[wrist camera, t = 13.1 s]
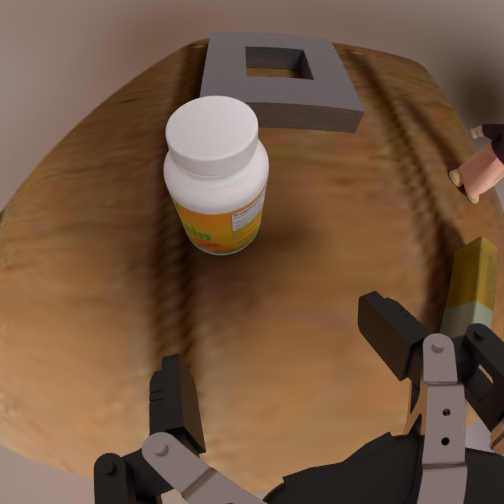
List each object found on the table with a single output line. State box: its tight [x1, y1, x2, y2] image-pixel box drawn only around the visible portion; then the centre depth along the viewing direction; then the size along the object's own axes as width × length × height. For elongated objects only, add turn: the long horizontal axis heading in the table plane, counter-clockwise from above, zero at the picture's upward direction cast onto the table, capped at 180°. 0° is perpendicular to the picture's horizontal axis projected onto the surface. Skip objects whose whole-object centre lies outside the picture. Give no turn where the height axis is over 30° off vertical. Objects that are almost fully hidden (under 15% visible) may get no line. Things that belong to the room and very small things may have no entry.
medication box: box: [439, 236, 498, 371], centre depth 17 cm, size 12×3×4 cm, turn 154°
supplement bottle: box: [164, 96, 269, 255], centre depth 16 cm, size 5×5×10 cm
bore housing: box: [200, 33, 364, 133], centre depth 24 cm, size 14×14×3 cm
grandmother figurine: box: [449, 124, 504, 204], centre depth 17 cm, size 8×4×13 cm, turn 57°
